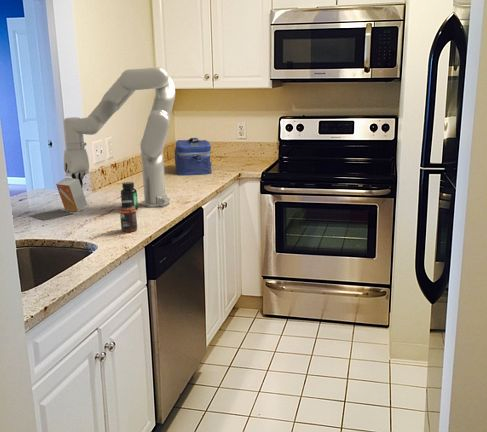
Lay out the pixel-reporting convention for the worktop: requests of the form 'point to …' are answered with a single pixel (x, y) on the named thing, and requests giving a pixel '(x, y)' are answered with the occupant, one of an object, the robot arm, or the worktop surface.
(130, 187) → the supplement bottle
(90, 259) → the worktop surface
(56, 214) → the mat
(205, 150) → the lunch bag
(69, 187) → the small box
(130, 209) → the supplement bottle
